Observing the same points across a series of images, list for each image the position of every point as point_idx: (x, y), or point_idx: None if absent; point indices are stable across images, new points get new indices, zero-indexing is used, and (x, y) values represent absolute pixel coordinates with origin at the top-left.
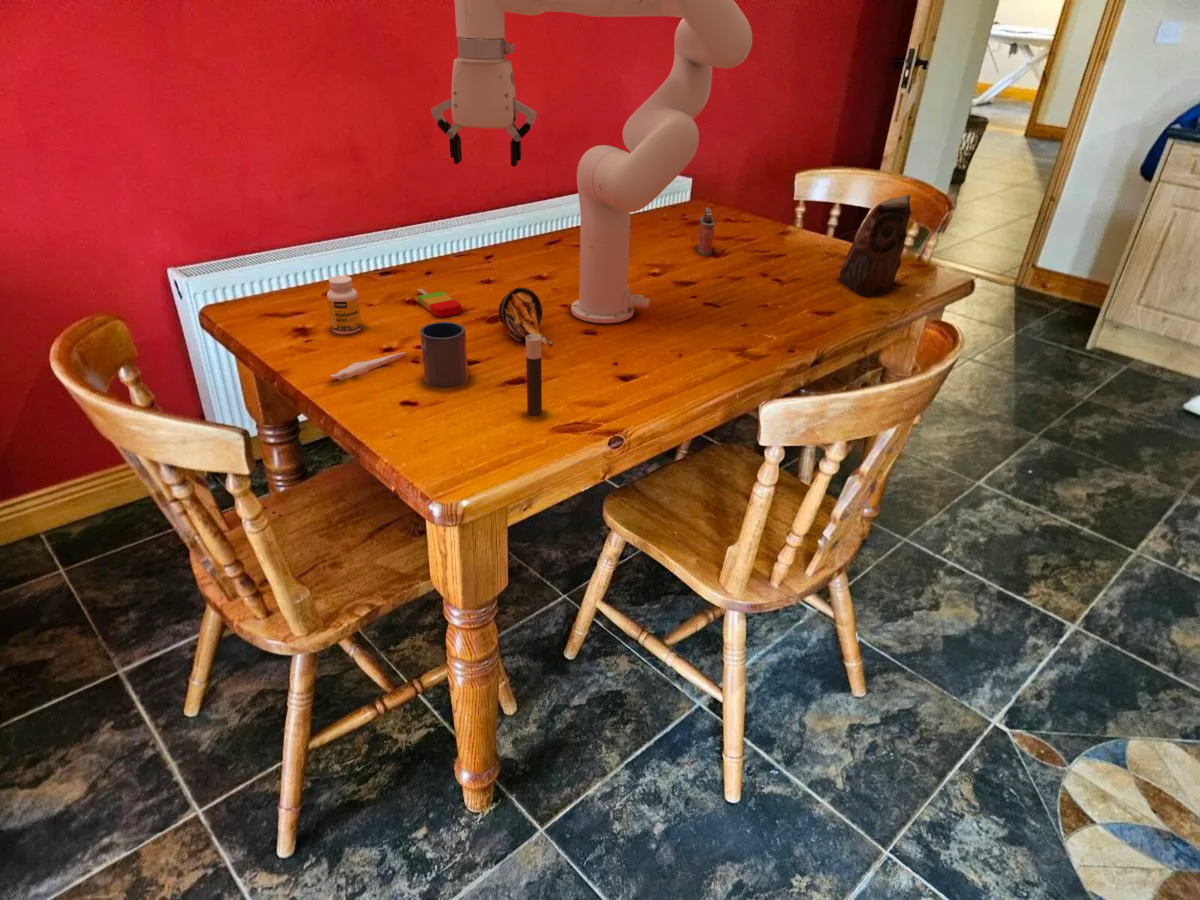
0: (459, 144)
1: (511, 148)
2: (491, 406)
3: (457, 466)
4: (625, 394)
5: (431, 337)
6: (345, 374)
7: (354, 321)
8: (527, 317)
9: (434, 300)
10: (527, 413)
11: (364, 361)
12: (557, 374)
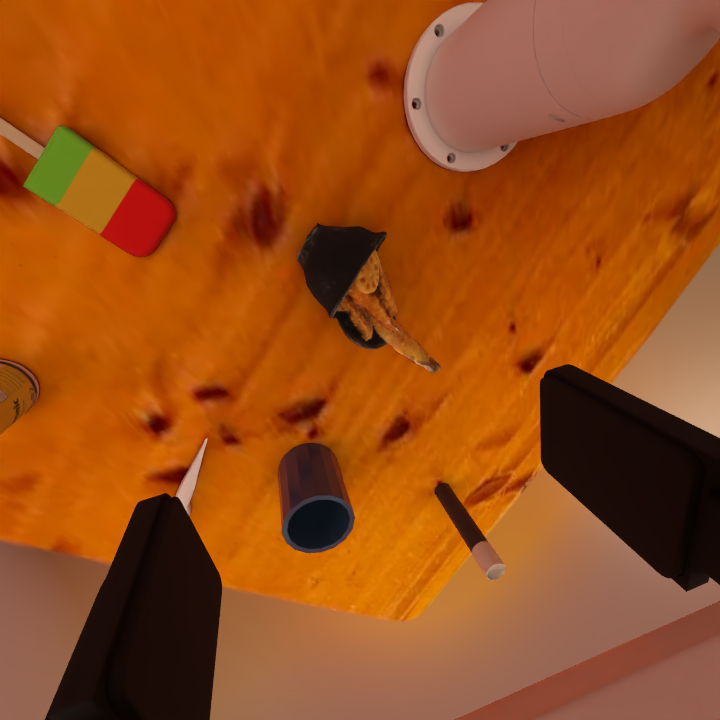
0: (172, 658)
1: (633, 542)
2: (389, 493)
3: (400, 587)
4: (530, 404)
5: (316, 550)
6: None
7: (27, 404)
8: (386, 323)
9: (91, 207)
10: (436, 495)
11: None
12: (442, 390)
